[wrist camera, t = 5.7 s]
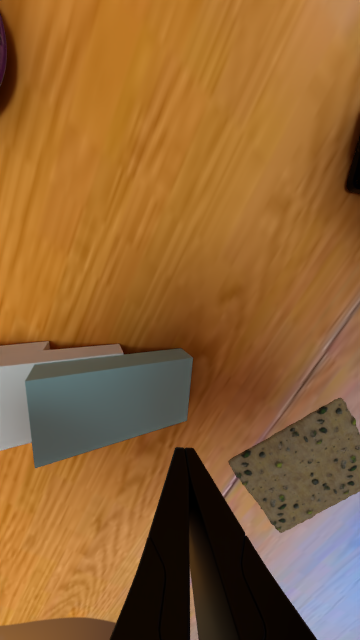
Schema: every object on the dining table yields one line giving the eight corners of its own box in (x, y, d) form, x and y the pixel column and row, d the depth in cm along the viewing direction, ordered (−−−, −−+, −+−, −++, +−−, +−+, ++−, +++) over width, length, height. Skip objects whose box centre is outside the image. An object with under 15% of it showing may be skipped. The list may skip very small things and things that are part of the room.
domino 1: (123, 353, 12) (-88, 376, 8) (123, 418, 13) (-64, 467, 9) (119, 343, 14) (-60, 359, 10) (119, 402, 15) (-42, 439, 11)
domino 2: (193, 357, 12) (24, 381, 8) (186, 420, 14) (34, 468, 10) (181, 348, 14) (34, 364, 10) (176, 405, 15) (42, 440, 11)
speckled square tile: (277, 529, 20) (282, 542, 19) (224, 457, 17) (227, 467, 16) (376, 475, 19) (387, 485, 18) (337, 391, 17) (347, 398, 16)
